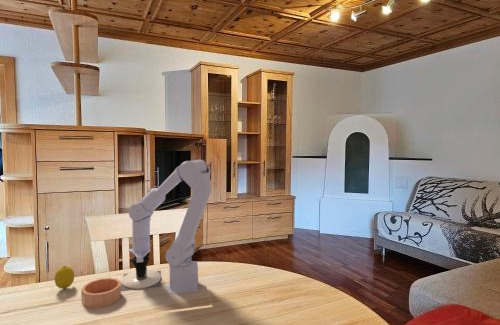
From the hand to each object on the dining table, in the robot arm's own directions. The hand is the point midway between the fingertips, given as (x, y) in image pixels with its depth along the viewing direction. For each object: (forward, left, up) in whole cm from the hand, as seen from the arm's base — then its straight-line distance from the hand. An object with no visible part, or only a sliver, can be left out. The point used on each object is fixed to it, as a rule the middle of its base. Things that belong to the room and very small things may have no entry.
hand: (141, 274), depth 109 cm
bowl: (+11, +10, -3) cm, 15 cm away
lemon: (+24, 0, -3) cm, 24 cm away
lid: (0, 0, -2) cm, 2 cm away
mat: (0, 0, -3) cm, 3 cm away
